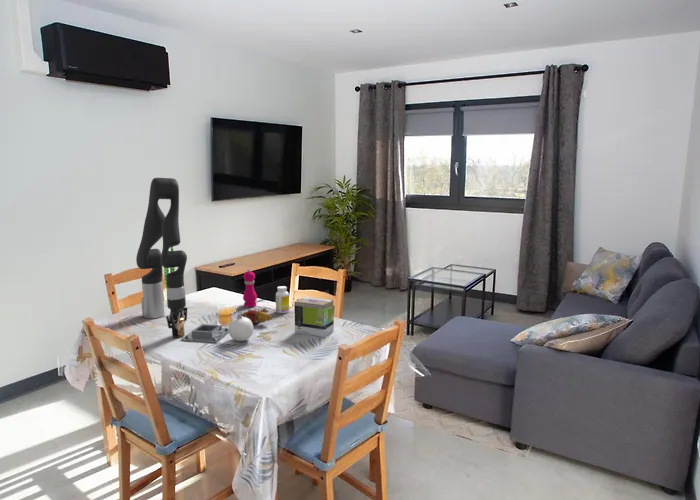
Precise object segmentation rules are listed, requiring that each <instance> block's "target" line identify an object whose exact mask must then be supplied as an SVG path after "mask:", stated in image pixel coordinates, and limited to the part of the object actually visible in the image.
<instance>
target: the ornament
mask: <svg viewBox="0 0 700 500" xmlns="http://www.w3.org/2000/svg"><path fill="white" fill-rule="evenodd" d="M241 314H242V313H241ZM241 314H240V313H238V314H237V317H235V318H233V319H231V321H230V322H229V325H228V329H229V333H228V334H229V336H230V338H231V339H232V340H234V341H236V342H244V341H247V340H249V339H250V338H251V337H252V335H253V333H254V324H252V322H251V320H250V319H248V318H246V317H243V316H241ZM239 316H240V317H239Z"/></svg>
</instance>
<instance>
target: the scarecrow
mask: <svg viewBox="0 0 700 500" xmlns="http://www.w3.org/2000/svg"><path fill="white" fill-rule="evenodd" d="M268 312H269V311H268V309H267V308H266V307H263V308H262V307H261V309H260V308H258V310H255V309H247V311H246V310H244V312H243V313H239V314H241V316H242V317H246V318H248V319H250V320H251V322H252V324H253V325H254V324H258V323H266V322H269V321H271V319H272V317H273V315H270V314H269V313H268ZM239 317H240V316H239Z"/></svg>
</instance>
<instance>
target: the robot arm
mask: <svg viewBox="0 0 700 500" xmlns="http://www.w3.org/2000/svg"><path fill="white" fill-rule="evenodd" d="M179 186H180V185H179V182H178V180H177V179H176V178H173V177H171V178H170V177H169V178H167V177H154V178H152V180H151V182H150V188H149V197H148V204H147V211H146V215H145V219H144V224H143V230H142V236H141V241H140V244H139V246H138V249H137V253H136V257H135V259H136V265H137V267H138V269H140V270H148V269H151V270H150V271H149V272H148V273H145V274H144V275H142V277H141V287H142V288H141V289H142V297H141V300H140V301H141V312H142V313H141V314H142V315H141V316H142V318H145V319H158V318H159V319H160V318H162V317H164V316H165V303H164V302H165V301H164V289H163V288H164V287H163V268H165V269H171V268H177V269H176V270H175V271H171V272H169V273H167V274H166V277H165V279H166V303H167V304H166V305H167V308H168V309H169V310H170V312H169V315H166V316H165V317H166V323H167V327H168V329H171V334H172V338H173V337H177V336H178V328H177V326H178V323H179V319H180V318H181V317H182V318H183V317H184V324H185V323H186V322H187V319H188V307H186V306H187V303H186V302H187V301H186V289H185V280H184V279H185V278H184V277H185V275H184V274H185V269H186V264H187V260H188V256H187V253H186V252H185V251H184V250H183V249H181V250H170V251H169V249H171V248H173V247H176V246H179V245H180V243H181V236H180V235H181V234H180V226H179V225H180V224H179V215H180V214H179V213H180V211H179V210H180V208H179V207H180V188H179ZM160 200H170V206H169V210H168V212H167V214H166V216H165V214H164V212H163V210H162V209H161V208H160V206H159V201H160ZM161 238H162V251H161V250H160V249H158V248H153V246H155V245H156V244H157V243H158V242H159V241H160V240H161ZM174 320H177V321H174ZM174 323H175V324H174Z"/></svg>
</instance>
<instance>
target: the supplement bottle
mask: <svg viewBox="0 0 700 500" xmlns="http://www.w3.org/2000/svg"><path fill="white" fill-rule="evenodd" d="M287 289H288V287H287V286H285V285H283V286H282V285H281V286H280V285H279V286H277V292H275V310H276V312H275V313H277V314H287V313H289V311H290V294H289V292H288V291H287Z"/></svg>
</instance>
